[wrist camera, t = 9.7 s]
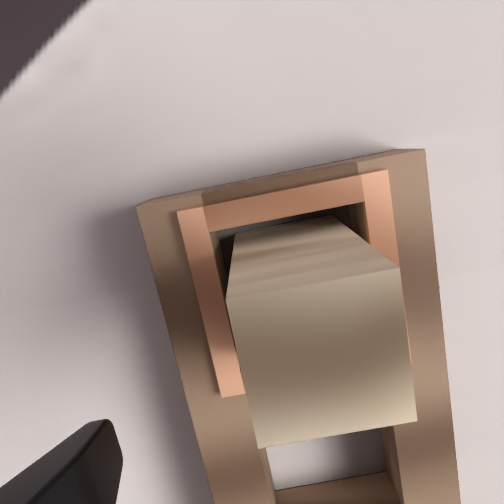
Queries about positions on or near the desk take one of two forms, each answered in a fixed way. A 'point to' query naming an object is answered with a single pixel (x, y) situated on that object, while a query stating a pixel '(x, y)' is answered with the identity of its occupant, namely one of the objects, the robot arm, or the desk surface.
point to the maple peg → (318, 332)
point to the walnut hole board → (222, 340)
